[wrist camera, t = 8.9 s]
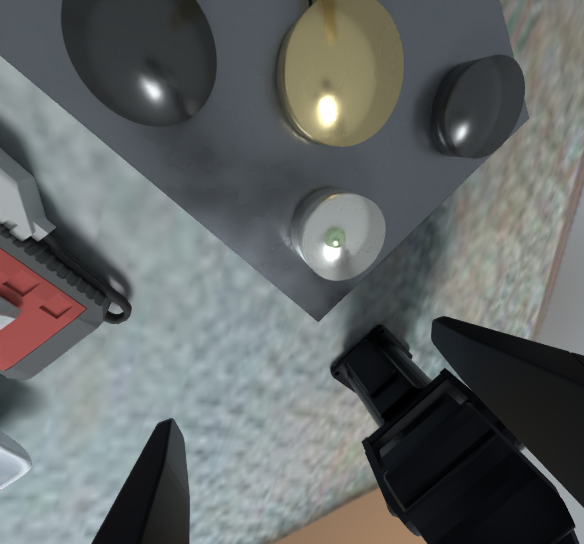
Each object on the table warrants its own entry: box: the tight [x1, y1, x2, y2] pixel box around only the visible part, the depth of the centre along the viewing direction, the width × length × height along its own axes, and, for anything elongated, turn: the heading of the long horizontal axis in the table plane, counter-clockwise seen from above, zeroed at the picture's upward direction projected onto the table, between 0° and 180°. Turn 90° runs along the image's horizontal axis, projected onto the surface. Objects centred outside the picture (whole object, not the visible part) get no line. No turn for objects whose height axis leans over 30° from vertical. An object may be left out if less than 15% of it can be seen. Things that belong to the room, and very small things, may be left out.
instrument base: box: [0, 0, 529, 322], centre depth 15 cm, size 22×20×5 cm
